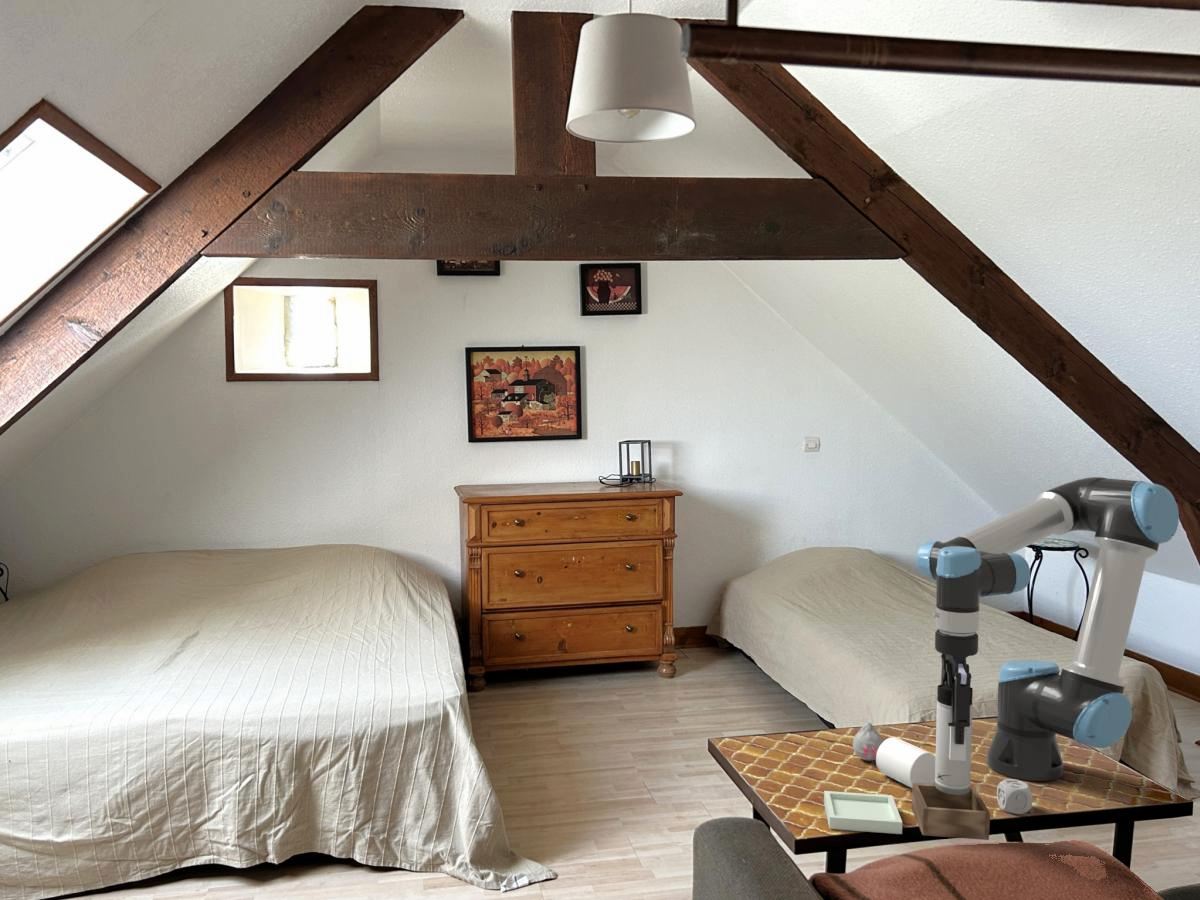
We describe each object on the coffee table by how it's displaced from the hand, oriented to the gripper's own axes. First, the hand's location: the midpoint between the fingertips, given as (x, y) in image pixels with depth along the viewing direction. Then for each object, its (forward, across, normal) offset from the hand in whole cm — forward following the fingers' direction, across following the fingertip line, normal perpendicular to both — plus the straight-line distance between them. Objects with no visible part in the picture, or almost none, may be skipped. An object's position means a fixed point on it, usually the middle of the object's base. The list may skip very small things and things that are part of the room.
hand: (953, 752), depth 187 cm
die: (+14, -9, +14) cm, 21 cm away
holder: (+14, 0, 0) cm, 14 cm away
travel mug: (+7, 0, 0) cm, 7 cm away
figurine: (+14, -30, -12) cm, 35 cm away
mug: (+14, -20, -4) cm, 24 cm away
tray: (+13, 0, -16) cm, 21 cm away
